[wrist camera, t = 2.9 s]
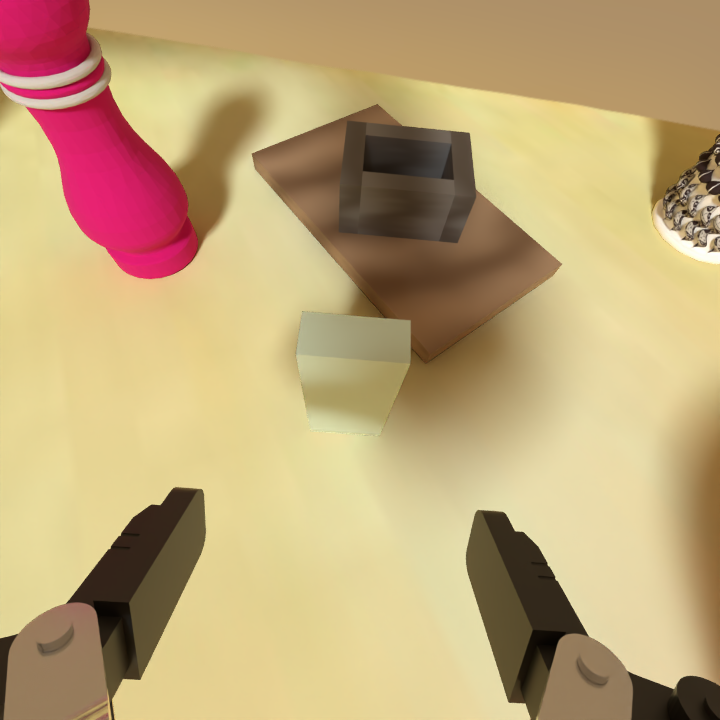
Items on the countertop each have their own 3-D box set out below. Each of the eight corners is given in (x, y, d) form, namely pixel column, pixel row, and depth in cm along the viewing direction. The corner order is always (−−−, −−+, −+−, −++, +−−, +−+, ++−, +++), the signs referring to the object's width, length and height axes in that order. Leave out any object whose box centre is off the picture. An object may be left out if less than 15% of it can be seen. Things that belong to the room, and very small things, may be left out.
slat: (310, 430, 25) (295, 354, 15) (313, 401, 26) (302, 311, 16) (379, 436, 25) (410, 363, 15) (380, 406, 26) (410, 320, 16)
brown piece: (425, 363, 27) (448, 319, 22) (254, 168, 35) (240, 99, 30) (552, 276, 32) (597, 220, 26) (375, 119, 39) (382, 51, 34)
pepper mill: (211, 274, 30) (25, -145, 12) (111, 294, 28) (-274, -145, 10) (198, 208, 33) (33, -210, 15) (106, 223, 31) (-201, -216, 13)
